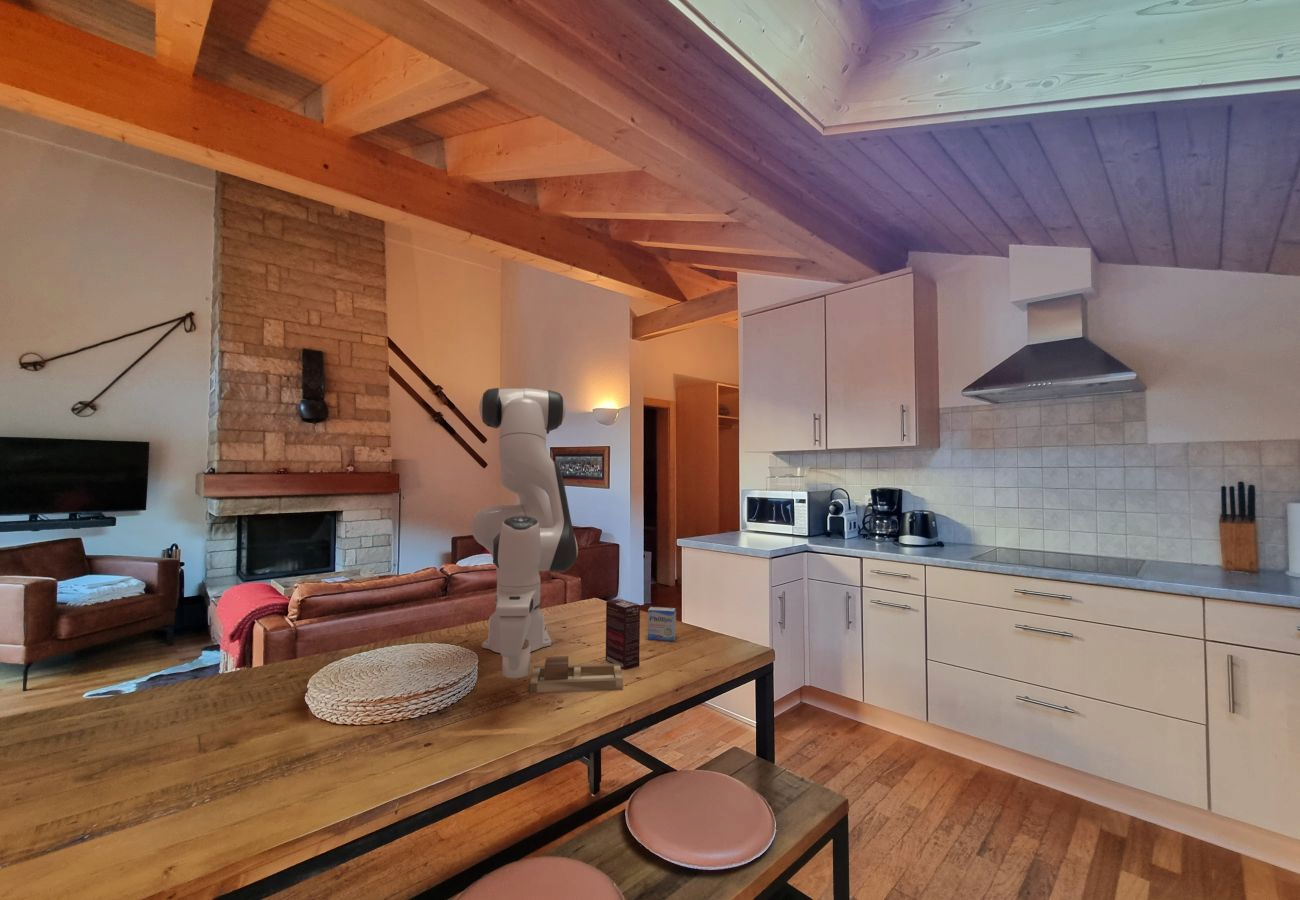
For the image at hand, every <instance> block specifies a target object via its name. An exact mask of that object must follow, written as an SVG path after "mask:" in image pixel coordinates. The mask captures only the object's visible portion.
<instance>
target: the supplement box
mask: <svg viewBox="0 0 1300 900" xmlns="http://www.w3.org/2000/svg"><path fill="white" fill-rule="evenodd" d="M605 604H606V605H605V608H606V609H605V610H606V611H605V615H606V616H605V661H606V662H607V663H609V664H616V663H620V667H621V670H624V671H626V670H630V669H633V668H638V667H640V644H641V643H640V639H641V638H640V633H641V632H640V631H641V629H640V627H641V624H640V623H641V605H640V604H638V603H635V602H632V601H629V600H626V599H622V598H615V599H609V600H606V603H605Z"/></svg>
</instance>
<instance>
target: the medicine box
mask: <svg viewBox="0 0 1300 900" xmlns="http://www.w3.org/2000/svg"><path fill="white" fill-rule="evenodd" d="M676 636H677V608H676V607H660V606H650V607H649V608H648V610H647V640H648V641H659V642H660V641H661V642H663V641H664V642H675V639H676V638H677V637H676Z"/></svg>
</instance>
